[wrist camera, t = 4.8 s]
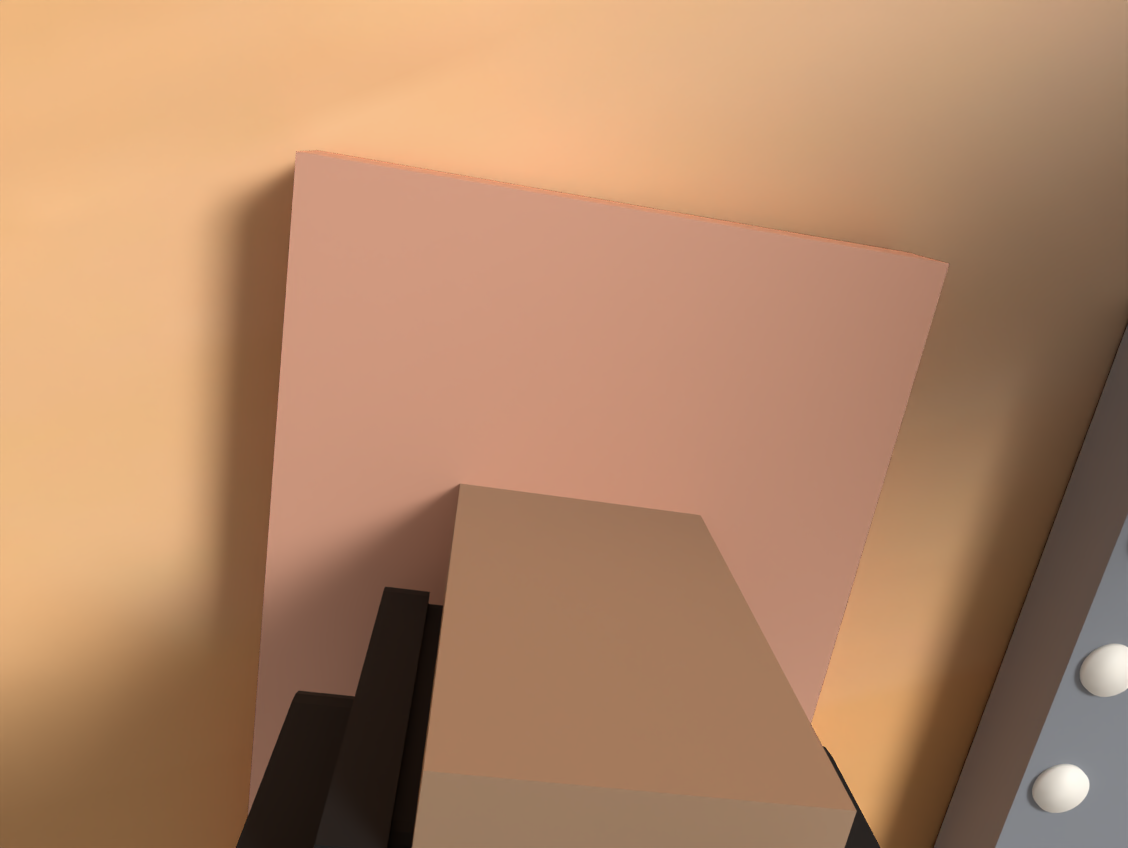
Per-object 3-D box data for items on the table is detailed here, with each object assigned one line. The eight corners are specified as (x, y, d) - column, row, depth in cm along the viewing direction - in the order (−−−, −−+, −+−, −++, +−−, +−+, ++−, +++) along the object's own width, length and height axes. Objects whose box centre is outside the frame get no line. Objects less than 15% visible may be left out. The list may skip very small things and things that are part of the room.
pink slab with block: (907, 252, 11) (1357, 374, 5) (704, 962, 15) (836, 1506, 9) (317, 150, 10) (68, 160, 4) (254, 930, 14) (73, 1509, 8)
